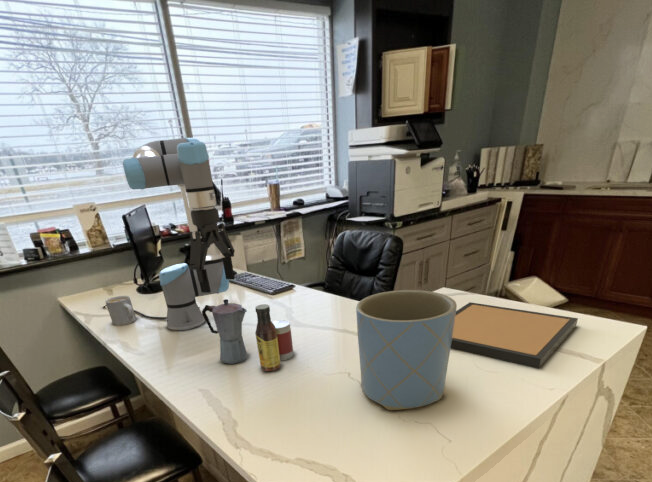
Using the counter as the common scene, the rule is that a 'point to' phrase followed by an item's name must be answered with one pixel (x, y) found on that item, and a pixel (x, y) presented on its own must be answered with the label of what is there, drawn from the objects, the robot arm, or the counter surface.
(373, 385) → the planter
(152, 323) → the counter surface
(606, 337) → the counter surface
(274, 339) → the sauce bottle
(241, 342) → the moka pot
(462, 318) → the framed cork board
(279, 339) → the tin can
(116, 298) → the coffee mug
